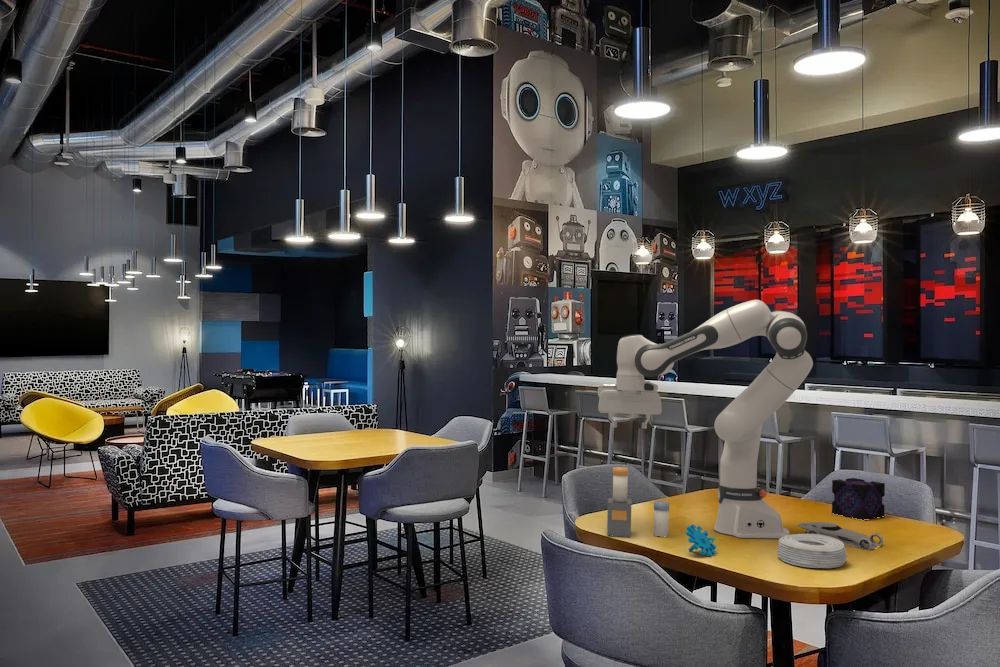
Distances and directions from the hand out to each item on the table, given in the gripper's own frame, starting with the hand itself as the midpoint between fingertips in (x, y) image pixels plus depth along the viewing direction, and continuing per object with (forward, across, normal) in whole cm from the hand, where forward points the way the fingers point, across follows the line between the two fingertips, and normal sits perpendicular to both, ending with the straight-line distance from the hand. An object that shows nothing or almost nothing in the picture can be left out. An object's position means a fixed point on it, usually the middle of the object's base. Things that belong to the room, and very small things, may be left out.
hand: (629, 427), depth 250 cm
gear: (+32, +20, -31) cm, 48 cm away
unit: (+31, -3, -13) cm, 34 cm away
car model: (+32, +62, -4) cm, 70 cm away
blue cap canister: (+31, +10, -12) cm, 35 cm away
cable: (+32, +49, -32) cm, 67 cm away
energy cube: (+31, +79, +36) cm, 92 cm away
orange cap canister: (+21, -2, -13) cm, 25 cm away
